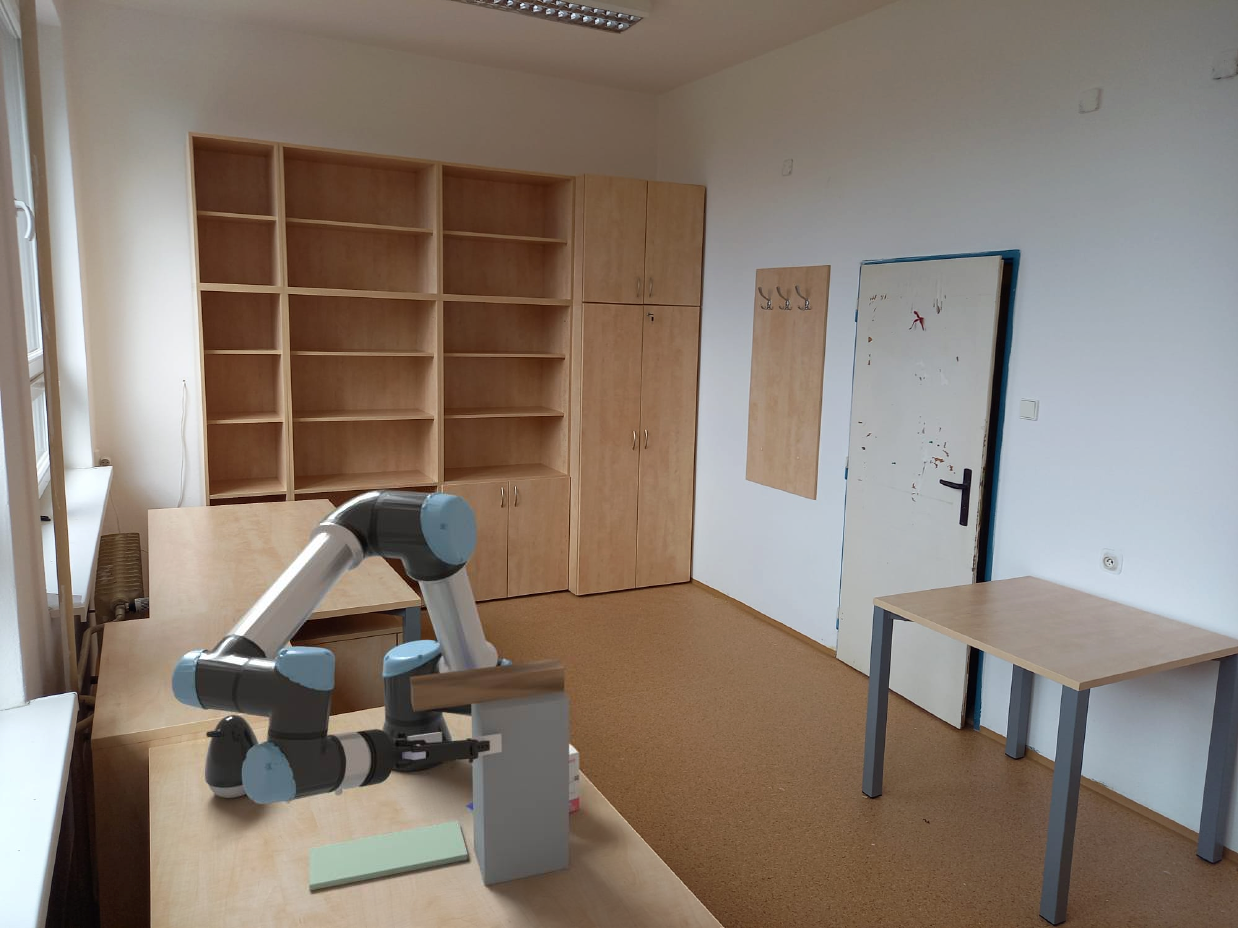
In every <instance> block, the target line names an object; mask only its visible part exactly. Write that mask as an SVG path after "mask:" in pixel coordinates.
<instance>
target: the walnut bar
mask: <svg viewBox="0 0 1238 928" xmlns="http://www.w3.org/2000/svg"><path fill="white" fill-rule="evenodd" d="M410 683H411V703H412V707H413V711H414V712H416V711H424V710H431V709H438V708H445V707H453V706H460V705H467V704H474V703H482V702H489V701H496V700H503V699H511V698H518V697H525V696H532V695H540V694H547V693H554V692H561V691H565V667H564V665H563V664H562V663H561V661H560V660H559V658H553V659H552V658H551V659H542V660H535V661H528V662H519V663H512V664H510V665H502V666H494V667H486V668H478V669H470V670H462V671H454V672H446V673H438V674H430V675H422V676H414V677H410Z"/></svg>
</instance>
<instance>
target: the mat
mask: <svg viewBox="0 0 1238 928" xmlns="http://www.w3.org/2000/svg"><path fill="white" fill-rule="evenodd" d="M468 854H469V853H468V851H467V847H466V843H465V840H464V836H463V833H462V830H461V826H460V822H459V820H455V821H451V822H450V821H448V822H444V823H438V824H433V825H427V826H423V827H417V828H411V829H406V830H399V831H394V832H390V833H384V834H378V835H372V836H368V837H362V838H356V839H350V840H344V841H339V842H334V843H329V844H324V845H317V846H313V847H309V869H308V870H309V871H308V872H309V875H308V876H309V877H308V878H309V883H308V884H309V885H308V886H309V891H316V890H319V889H325V888H330V887H334V886H340V885H345V884H349V883H355V882H361V881H364V880H365V881H366V880H369V879H370V880H371V879H377V878H380V877H381V878H382V877H385V876H390V875H395V874H399V873H405V872H406V873H407V872H411V871H416V870H421V869H426V868H431V867H437V866H441V865H446V864H450V863H451V864H452V863H456V862H461V861H466V860H468V858H469V857H468Z"/></svg>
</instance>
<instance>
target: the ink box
mask: <svg viewBox="0 0 1238 928" xmlns="http://www.w3.org/2000/svg"><path fill="white" fill-rule="evenodd" d="M579 809H580V752H579V751H578V750H577V749H576V747H574V745H572V744H571V743H570V742H569V813H572V812H576V811H579Z"/></svg>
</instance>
